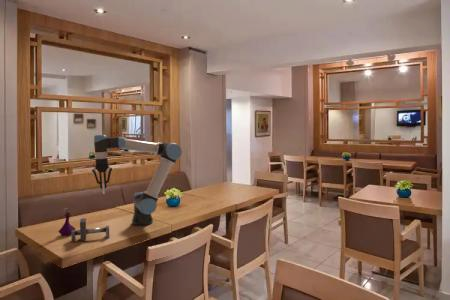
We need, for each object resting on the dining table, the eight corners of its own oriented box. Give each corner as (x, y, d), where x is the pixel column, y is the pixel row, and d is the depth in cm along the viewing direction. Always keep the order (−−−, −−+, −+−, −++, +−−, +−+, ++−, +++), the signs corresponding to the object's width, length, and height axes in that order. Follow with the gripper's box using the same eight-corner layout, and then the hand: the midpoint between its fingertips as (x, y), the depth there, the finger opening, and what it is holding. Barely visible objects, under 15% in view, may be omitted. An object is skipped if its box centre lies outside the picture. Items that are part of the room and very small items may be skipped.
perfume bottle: (65, 232, 212) (64, 206, 211) (75, 233, 212) (74, 206, 210) (58, 236, 205) (57, 209, 204) (69, 236, 204) (68, 209, 203)
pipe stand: (109, 235, 206) (108, 225, 206) (109, 237, 202) (109, 227, 201) (72, 239, 198) (71, 229, 198) (71, 242, 193) (71, 231, 193)
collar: (86, 235, 203) (85, 218, 202) (85, 240, 195) (85, 221, 194) (81, 236, 202) (80, 218, 201) (80, 240, 194) (79, 222, 193)
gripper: (111, 157, 212) (113, 191, 214) (90, 158, 207) (93, 193, 209) (112, 158, 205) (114, 193, 207) (90, 159, 200) (93, 195, 202)
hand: (103, 193), depth 208 cm, fingers closed
